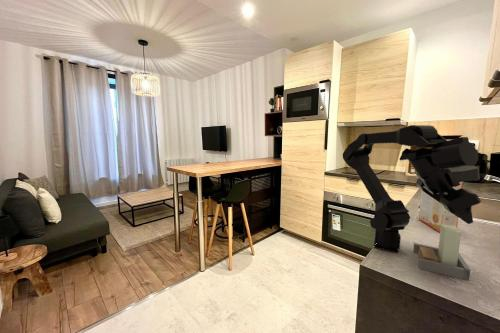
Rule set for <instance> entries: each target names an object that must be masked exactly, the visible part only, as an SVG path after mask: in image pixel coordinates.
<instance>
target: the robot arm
mask: <svg viewBox="0 0 500 333" xmlns="http://www.w3.org/2000/svg"><path fill="white" fill-rule="evenodd" d="M375 144H376V145H378V144H379V145H380V144H396V145H401V146H407V147H417V148H415V149H410V148H405V149H404V150H403V151H402V152H401V155H400V157H399V161H408V162H409V163H410V164H411V166H412V168H413V170H414V171H415V172H416V174H415V176H416V177H417V180H416V181H415V184H416V186H417V187H418V188H419V189H420V190H421V192H422V191H424V192H425V193H426V194H428V195H429V196H431V197H432V198H434V199H435V200H436V201H438V202H439V203H441V204H442V205H443V206H444V208H445V209H447V210H448V211H449V212H450V213H452V214H454V215H455V216H457V217H458V219H460V220H462V221H463V222H464V223H466V224H467V225H471V224H473V223H474V218H473V212H472V207H473V206H476V205H478V204H480V203H481V202H482V199H480V197H479V195H478V194H477V193H475V192H474V191H472V190H469V189H468V188H463V187H462V188H461V189H458V190H456V189H454V188H453V187H456V186H459V185H460V183H459V182H463V183H464V182H470V181H475V182H477V181H479V180H480V178H481V177H480V168H479V166H477V165H476V164H477V162H478V160H479V151H478V150H477V148H476V147H475V146H474V144H473V143H472V142H470V141H469V137H468V136H459V137H455V138H453V139H450V140H447V139H446V138H444V137H443V136H442V135H441V134H439V132H438V130H437V128H436V127H435V126H433V125H428V124H427V125H424V124H421V125H419V124H418V125H416V124H411V125H407V126H404V127H400V128H398V129H397V130H393V131H384V132H372V133H368V132H366V133H365V132H364V133H361V134H359V135H358V137H357V138H356V139H355V140H353V141H352V142H351V143H349V144H348V145H347V147H346V148H345V149H344V151H343V153H342V158H343V160H344V162H345V164H347V166H348V167H350V168H351V169H353V170H354V171H355V172H356V173H357V174H358V176H359V178H360V180H361V182H362V184H363V185H364V187H365V189H366V190H367V192H368V194H369V195H370V197H371V199H372V200H373V202H374V204H375V206H374V214H375V217H373V218H372V219H370V220H369V224H370V228H373V229H374V230H375V234H374V236H375V237H374V243H373V247H374V246H375V247H374V248H375V249H379V250H383V251H389V252H393V253H395V254H396V253H399V249H400V248H401V240H402V239H401V238H402V237H401V234H400V231H404V229H405V228H406V227H407V226H408V225H409V223H410V219H411V215H410V214H409V212H410V210H409V209H407V207H406V206H405V204H404V203H403V201H402V200H401V199H398V200H394V199H393V198H392V197H391V196H390V194H389V193H388V191H387V190H386V189H385V188H386V187H384V185H383V183H381V181H380V180H379V177H378V175H376V173H375V171H374V169H373V168H372V167H371V165H370V156H369V155H370V154H371V153H372V151H373V146H374V145H375ZM376 243H377V244H376ZM375 244H376V245H375Z"/></svg>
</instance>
